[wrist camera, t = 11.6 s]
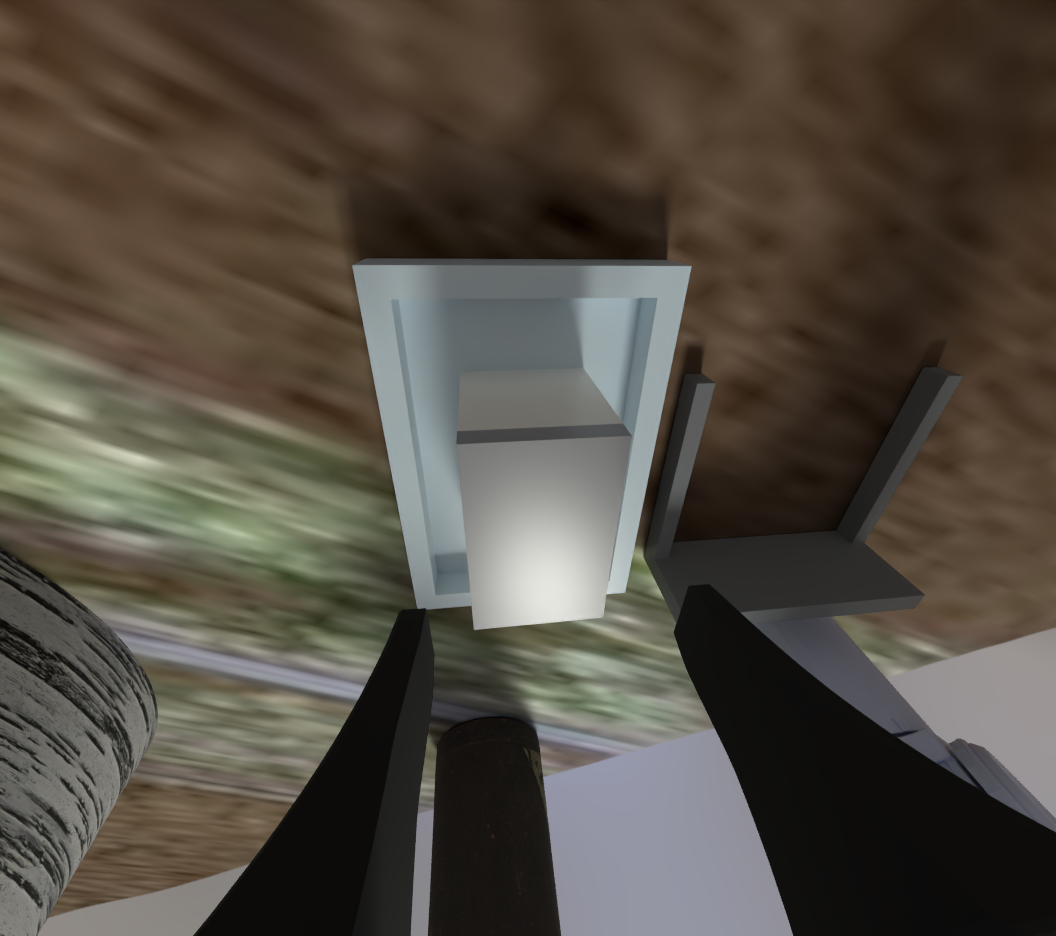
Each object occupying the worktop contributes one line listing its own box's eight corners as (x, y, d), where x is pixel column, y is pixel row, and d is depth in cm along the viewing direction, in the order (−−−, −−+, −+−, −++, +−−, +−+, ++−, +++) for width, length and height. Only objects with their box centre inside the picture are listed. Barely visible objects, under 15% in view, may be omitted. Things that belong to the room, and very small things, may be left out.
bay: (841, 541, 25) (914, 608, 21) (643, 557, 24) (680, 631, 20) (938, 367, 20) (1066, 410, 15) (684, 374, 18) (749, 423, 14)
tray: (614, 565, 24) (625, 592, 22) (421, 580, 23) (417, 610, 21) (667, 259, 16) (691, 266, 14) (365, 258, 14) (351, 264, 13)
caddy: (570, 520, 21) (602, 617, 16) (472, 526, 21) (474, 629, 16) (583, 367, 17) (631, 435, 12) (460, 371, 16) (456, 444, 11)
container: (479, 779, 37) (488, 1265, 20) (408, 745, 32) (341, 1337, 15) (561, 741, 35) (649, 1243, 18) (498, 699, 30) (534, 1317, 13)
